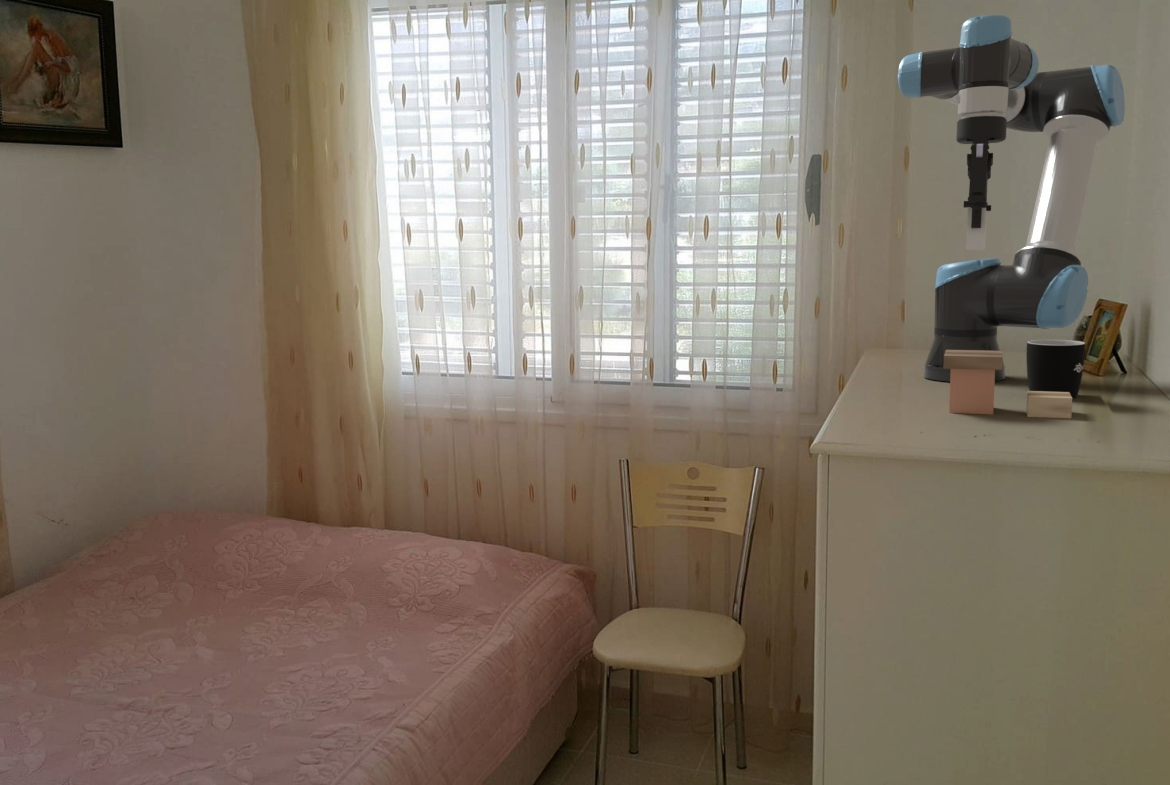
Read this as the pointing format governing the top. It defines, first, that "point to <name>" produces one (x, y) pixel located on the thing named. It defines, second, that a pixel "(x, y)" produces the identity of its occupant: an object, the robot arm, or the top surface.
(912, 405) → the top surface
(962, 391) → the tan hollow square block
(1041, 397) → the block
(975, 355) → the lid
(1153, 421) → the top surface
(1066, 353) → the mug
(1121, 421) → the top surface
